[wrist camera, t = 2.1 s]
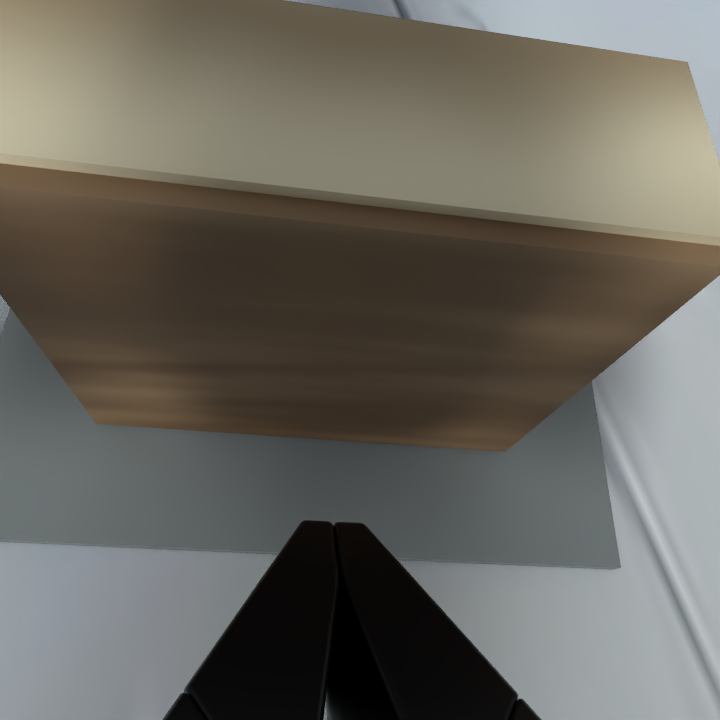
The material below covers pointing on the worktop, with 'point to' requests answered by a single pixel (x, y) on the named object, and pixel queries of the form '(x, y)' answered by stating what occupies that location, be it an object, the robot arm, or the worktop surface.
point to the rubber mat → (291, 483)
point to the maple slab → (339, 215)
